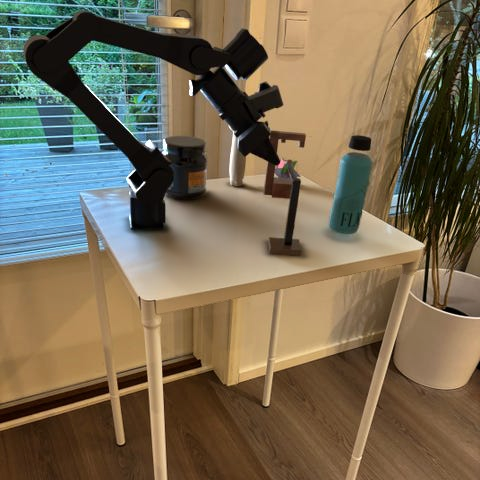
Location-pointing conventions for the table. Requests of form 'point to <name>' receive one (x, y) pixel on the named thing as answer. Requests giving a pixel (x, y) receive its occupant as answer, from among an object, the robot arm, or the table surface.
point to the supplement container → (186, 166)
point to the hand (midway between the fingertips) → (278, 162)
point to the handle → (236, 164)
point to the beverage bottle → (351, 187)
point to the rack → (288, 221)
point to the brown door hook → (274, 184)
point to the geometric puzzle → (284, 169)
